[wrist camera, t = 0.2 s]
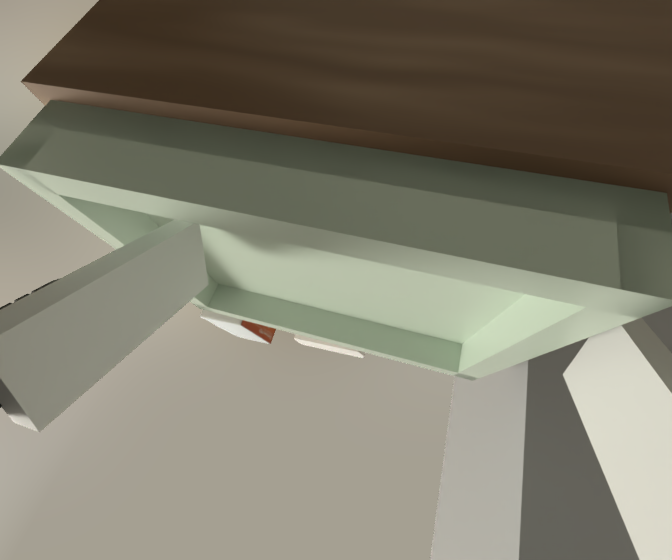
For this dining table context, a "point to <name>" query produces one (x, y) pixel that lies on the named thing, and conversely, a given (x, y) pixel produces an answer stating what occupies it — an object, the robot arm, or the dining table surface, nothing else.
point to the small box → (240, 327)
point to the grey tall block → (527, 468)
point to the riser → (395, 76)
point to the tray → (363, 235)
